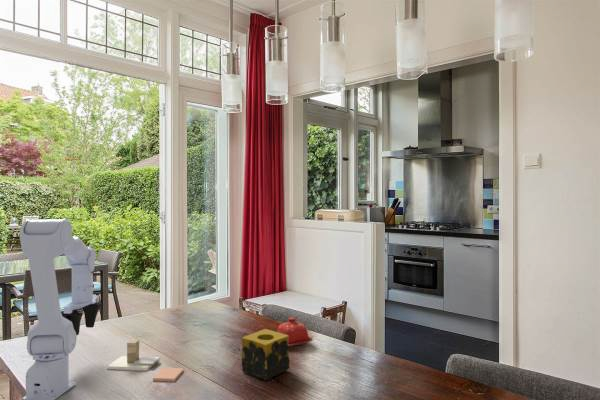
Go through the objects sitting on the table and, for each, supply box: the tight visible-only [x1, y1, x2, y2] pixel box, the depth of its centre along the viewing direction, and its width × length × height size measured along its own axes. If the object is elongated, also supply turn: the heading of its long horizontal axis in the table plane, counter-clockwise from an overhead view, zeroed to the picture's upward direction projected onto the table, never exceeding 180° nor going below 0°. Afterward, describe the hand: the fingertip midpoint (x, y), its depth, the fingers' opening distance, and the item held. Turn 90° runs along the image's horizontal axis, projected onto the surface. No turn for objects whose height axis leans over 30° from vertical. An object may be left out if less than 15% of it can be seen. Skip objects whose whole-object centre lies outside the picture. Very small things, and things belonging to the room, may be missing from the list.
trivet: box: [106, 355, 154, 372], centre depth 123 cm, size 8×12×1 cm, turn 85°
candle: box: [241, 328, 290, 381], centre depth 119 cm, size 10×10×10 cm
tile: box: [152, 367, 185, 383], centre depth 115 cm, size 7×1×6 cm
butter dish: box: [276, 316, 314, 347], centre depth 144 cm, size 12×12×8 cm
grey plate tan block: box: [126, 339, 161, 366], centre depth 123 cm, size 5×8×6 cm, turn 85°
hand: (82, 331), depth 126 cm, fingers open, 7 cm apart
